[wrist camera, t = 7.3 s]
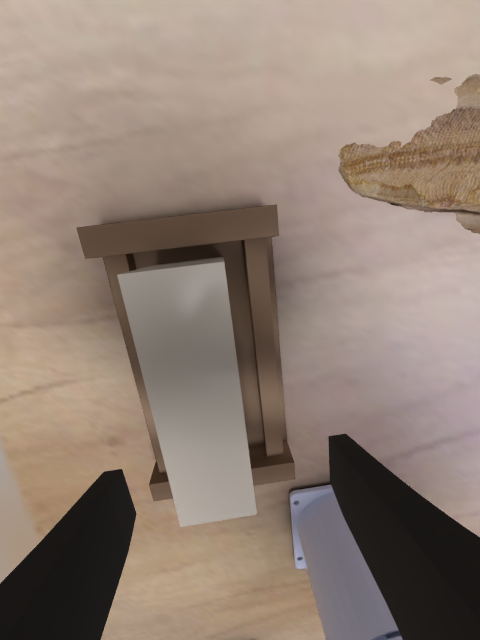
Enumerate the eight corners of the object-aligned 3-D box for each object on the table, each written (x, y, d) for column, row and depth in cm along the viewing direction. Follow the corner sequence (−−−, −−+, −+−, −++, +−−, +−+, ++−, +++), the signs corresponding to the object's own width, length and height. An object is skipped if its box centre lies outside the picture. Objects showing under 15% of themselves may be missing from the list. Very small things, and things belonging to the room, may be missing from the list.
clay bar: (246, 433, 19) (257, 514, 13) (192, 441, 19) (180, 526, 13) (222, 256, 15) (224, 261, 10) (156, 264, 15) (117, 274, 9)
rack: (284, 446, 21) (295, 478, 18) (163, 465, 20) (153, 501, 18) (266, 212, 16) (276, 204, 13) (103, 231, 15) (76, 227, 12)
